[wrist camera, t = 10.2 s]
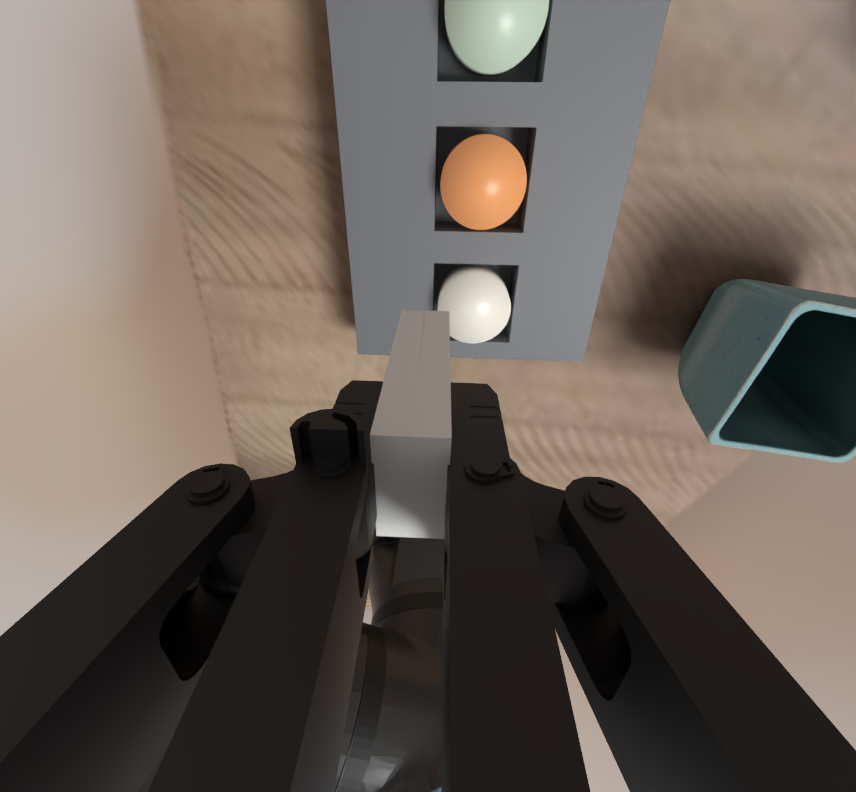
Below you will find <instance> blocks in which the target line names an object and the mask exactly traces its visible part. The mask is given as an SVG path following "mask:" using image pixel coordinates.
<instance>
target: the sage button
mask: <svg viewBox="0 0 856 792" xmlns="http://www.w3.org/2000/svg"><path fill="white" fill-rule="evenodd" d="M548 8H549V0H445V25H446V34H447V38H448V42H449V45H450V48H451V50H452V52H453V54H454V56H455V58H456V59H457V61H458V62H459V63H460V64H461V65H462V66H463V67H464V68H465V69H466V70H468V71H469V72H471V73H473V74H475V75H478V76H483V77H494V76H498V75H501V74H503V73H506V72H507V71H509V70H511V69H512V68H513V67H515V66H516V65H517V64H518V63H519V62H520V61H522V60H523V59H524V58H525V57H526V56H527V55H528V54H529V53H530V51H531V50H532V49H533V47H534V46H535V44H536V43H537V41H538V39H539V37H540V35H541V33H542V31H543V28H544V25H545V22H546V18H547V14H548Z"/></svg>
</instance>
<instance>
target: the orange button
mask: <svg viewBox="0 0 856 792" xmlns="http://www.w3.org/2000/svg"><path fill="white" fill-rule="evenodd" d="M526 185H527V173H526V167H525V164H524V161H523V159H522V157H521V155H520V153H519V152H518V150H517V149H516V148H515V147H514V146H513V145H512V144H511V143H510V142H509V141H507V140H505V139H504V138H501V137H499V136H496V135H493V134H489V133H478V134H473V135H470V136H468V137H466V138H464V139H462V140H461V141H460V142H458V143H457V144H456V145H455V146H454V147H453V149H452V150H451V151H450V153H449V154H448V156H447V158H446V160H445V163H444V166H443V170H442V175H441V182H440V188H441V196H442V200H443V203H444V205H445V208H446V209H447V211H448V213H449V214H450V215H451V216H452V218H453V219H454V220H455V221H457V222H458V223H459V224H461V225H463V226H465V227H467V228H470V229H475V230H487V229H491V228H495V227H497V226H499V225H501V224H503V223H504V222H506V221H507V220H508V219H509V218H511V217H512V215H513V214H514V213H515V212H516V211H517V209H518V208H519V206H520V204H521V202H522V200H523V198H524V194H525V191H526Z"/></svg>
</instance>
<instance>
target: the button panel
mask: <svg viewBox="0 0 856 792" xmlns="http://www.w3.org/2000/svg"><path fill="white" fill-rule="evenodd" d="M669 3H670V0H549V8H548V14H547V18H546V22H545V25H544V28H543V31H542V33H541V35H540V37H539V39H538V41H537V43H536V44H535V46H534V47H533V49H532V50H531V51H530V53H529V54H528V55H527V56H526V57H525V58H524V59H523V60H522V61H520V62H519V63H518V64H517V65H516V66H515V67H513V68H512V69H511V70H509V71H507V72H506V73H503V74H501V75H498V76H494V77H483V76H478V75H475V74H473V73H471V72H469V71H468V70H466V69H465V68H464V67H463V66H462V65H461V64H460V63H459V62H458V61H457V59H456V58H455V56H454V54H453V52H452V50H451V48H450V45H449V42H448V38H447V34H446V25H445V0H326V8H327V19H328V30H329V41H330V52H331V63H332V74H333V85H334V96H335V107H336V118H337V129H338V140H339V151H340V162H341V173H342V184H343V195H344V206H345V217H346V228H347V239H348V250H349V261H350V272H351V283H352V294H353V305H354V316H355V327H356V338H357V349H358V354H368V355H390V354H391V350H392V346H393V342H394V338H395V334H396V330H397V327H398V323H399V319H400V315H401V311H402V310H426V311H437V308H438V296H439V288H440V285H441V282H442V280H443V278H444V277H445V275H446V274H447V273H448V272H449V271H450V270H451V269H452V268H454V267H455V266H457V265H459V264H487V265H490V266H492V267H493V268H495V269H496V270H497V271H498V272H499V273H500V275H501V276H502V278H503V280H504V282H505V285H506V288H507V291H508V294H509V298H510V302H511V313H510V317H509V320H508V322H507V324H506V326H505V327H504V329H503V330H502V331H501V332H500V333H499V334H498V335H496V336H495V337H494V338H492V339H490V340H488V341H485V342H481V343H472V344H471V343H464V342H461V341H458V340H456V339H454V338H452V337H451V336H450V357H461V358H492V359H523V360H554V361H583V360H584V356H585V352H586V348H587V344H588V339H589V335H590V331H591V327H592V323H593V319H594V314H595V310H596V306H597V302H598V298H599V294H600V290H601V285H602V281H603V277H604V273H605V269H606V265H607V260H608V256H609V252H610V248H611V244H612V240H613V236H614V231H615V227H616V223H617V219H618V215H619V211H620V207H621V202H622V198H623V194H624V190H625V186H626V182H627V177H628V173H629V169H630V165H631V161H632V157H633V153H634V148H635V144H636V140H637V136H638V132H639V128H640V123H641V119H642V115H643V111H644V107H645V103H646V99H647V94H648V90H649V86H650V82H651V78H652V74H653V69H654V65H655V61H656V57H657V53H658V49H659V45H660V40H661V36H662V32H663V28H664V24H665V20H666V16H667V11H668V7H669ZM478 133H489V134H493V135H496V136H499V137H501V138H504V139H505V140H507V141H509V142H510V143H511V144H512V145H513V146H514V147H515V148H516V149H517V150H518V152H519V153H520V155H521V157H522V159H523V161H524V164H525V167H526V173H527V185H526V191H525V194H524V198H523V200H522V202H521V204H520V206H519V208H518V209H517V211H516V212H515V213H514V214H513V215H512V217H511V218H509V219H508V220H507V221H506V222H504V223H503V224H501V225H499V226H497V227H495V228H491V229H487V230H475V229H470V228H467V227H465V226H463V225H461V224H459V223H458V222H457V221H455V220H454V219H453V218H452V216H451V215H450V214H449V213H448V211H447V209H446V208H445V205H444V203H443V200H442V196H441V188H440V182H441V175H442V170H443V166H444V163H445V160H446V158H447V156H448V154H449V153H450V151H451V150H452V149H453V147H454V146H455V145H456V144H457V143H458V142H460V141H461V140H462V139H464V138H466V137H468V136H470V135H473V134H478Z"/></svg>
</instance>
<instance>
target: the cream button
mask: <svg viewBox="0 0 856 792" xmlns="http://www.w3.org/2000/svg"><path fill="white" fill-rule="evenodd" d="M437 311H449V323H450V336H451V337H452V338H454V339H456V340H458V341H461V342H464V343H471V344H472V343H481V342H485V341H488V340H490V339H492V338H494V337H495V336H496V335H498V334H499V333H500V332H501V331H502V330H503V329H504V327H505V326H506V324H507V322H508V320H509V317H510V313H511V302H510V298H509V294H508V291H507V288H506V285H505V282H504V280H503V278H502V276H501V275H500V273H499V272H498V271H497V270H496V269H495V268H493V267H492V266H490V265H487V264H459V265H457V266H455V267H454V268H452V269H451V270H450V271H449V272H448V273H447V274H446V275H445V277H444V278H443V280H442V282H441V285H440V288H439V296H438V308H437Z"/></svg>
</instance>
